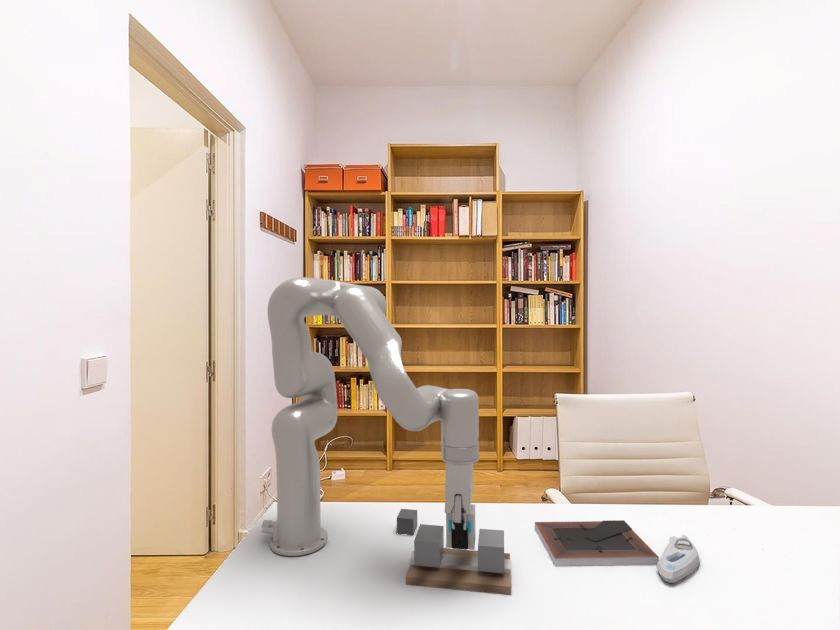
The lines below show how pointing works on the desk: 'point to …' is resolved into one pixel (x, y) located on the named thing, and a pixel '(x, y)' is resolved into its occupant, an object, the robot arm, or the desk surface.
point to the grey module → (469, 525)
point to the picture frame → (594, 544)
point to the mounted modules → (432, 547)
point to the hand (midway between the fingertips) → (461, 540)
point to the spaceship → (678, 559)
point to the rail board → (460, 573)
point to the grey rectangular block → (407, 521)
